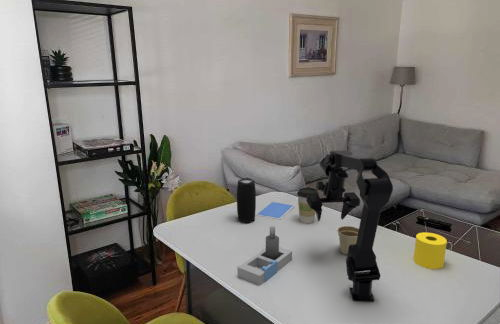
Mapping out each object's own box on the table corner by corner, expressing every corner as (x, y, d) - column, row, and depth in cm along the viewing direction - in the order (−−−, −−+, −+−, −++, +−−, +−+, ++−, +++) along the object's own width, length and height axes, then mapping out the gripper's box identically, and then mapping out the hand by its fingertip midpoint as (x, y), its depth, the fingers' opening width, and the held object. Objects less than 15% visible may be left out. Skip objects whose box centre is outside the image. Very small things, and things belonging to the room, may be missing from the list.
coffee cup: (292, 219, 177) (293, 188, 174) (309, 215, 181) (311, 185, 178) (303, 226, 169) (304, 195, 165) (321, 223, 173) (323, 192, 169)
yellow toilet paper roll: (437, 255, 143) (440, 232, 141) (448, 269, 133) (451, 245, 131) (409, 254, 144) (412, 232, 142) (418, 268, 134) (421, 244, 132)
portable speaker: (236, 224, 172) (236, 183, 167) (237, 216, 181) (237, 177, 176) (255, 224, 171) (255, 183, 167) (255, 216, 181) (255, 177, 176)
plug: (278, 266, 135) (279, 230, 132) (265, 266, 136) (265, 230, 132) (278, 260, 140) (279, 225, 137) (265, 259, 141) (266, 224, 137)
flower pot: (362, 258, 141) (363, 237, 139) (336, 256, 143) (337, 235, 141) (360, 247, 150) (361, 226, 148) (335, 244, 152) (337, 225, 150)
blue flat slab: (279, 221, 176) (279, 218, 176) (255, 216, 182) (255, 214, 181) (294, 207, 193) (294, 205, 193) (271, 203, 198) (271, 201, 198)
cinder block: (292, 259, 140) (293, 248, 139) (260, 285, 124) (260, 273, 123) (271, 252, 146) (271, 241, 145) (237, 276, 129) (237, 264, 128)
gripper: (351, 171, 143) (344, 206, 150) (304, 174, 139) (299, 209, 146) (364, 186, 133) (357, 222, 140) (313, 189, 130) (308, 226, 137)
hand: (330, 219), depth 141 cm, fingers open, 9 cm apart
